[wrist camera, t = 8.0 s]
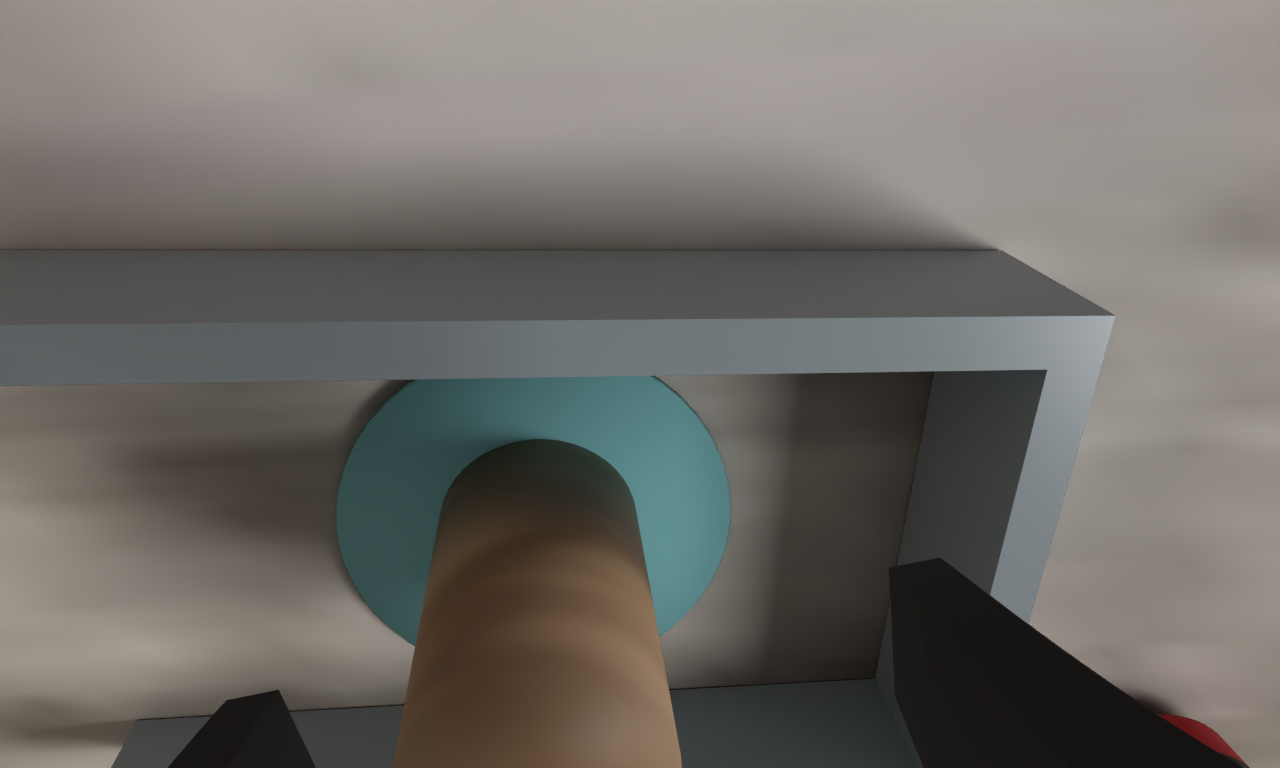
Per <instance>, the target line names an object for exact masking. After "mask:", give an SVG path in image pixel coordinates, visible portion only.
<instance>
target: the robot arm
mask: <svg viewBox="0 0 1280 768" xmlns="http://www.w3.org/2000/svg"><path fill="white" fill-rule="evenodd" d="M889 577H890V599H891V622H892V645H893V667H894V690H895V697H896V700H897V702H898V705H899V708H900V710H901V713H902V715H903V718H904V720H905V723H906V726H907V728H908V731H909V733H910V736H911V738H912V741H913V743H914V746H915V748H916V751H917V753H918V756H919V758H920V760H921V763H922V765H923V768H1244V767H1242V766H1240V765H1239V764H1237V763H1235V762H1233V761H1232V760H1230V759H1228V758H1227V757H1225V756H1223V755H1222V754H1220V753H1218V752H1217V751H1215V750H1213V749H1212V748H1210V747H1208V746H1207V745H1205V744H1203V743H1202V742H1200V741H1199V740H1197V739H1195V738H1194V737H1192V736H1191V735H1189V734H1188V733H1186V732H1184V731H1183V730H1181V729H1180V728H1178V727H1177V726H1175V725H1174V724H1172V723H1170V722H1169V721H1167V720H1166V719H1164V718H1163V717H1161V716H1159V715H1158V714H1156V713H1155V712H1153V711H1152V710H1150V709H1148V708H1147V707H1146V706H1144V705H1143V704H1141V703H1140V702H1138V701H1137V700H1135V699H1134V698H1132V697H1131V696H1129V695H1128V694H1126V693H1125V692H1123V691H1122V690H1120V689H1119V688H1117V687H1116V686H1114V685H1113V684H1111V683H1110V682H1109V681H1107V680H1106V679H1104V678H1103V677H1101V676H1100V675H1099V674H1097V673H1096V672H1094V671H1093V670H1091V669H1090V668H1089V667H1087V666H1086V665H1084V664H1083V663H1082V662H1080V661H1079V660H1077V659H1076V658H1074V657H1073V656H1072V655H1070V654H1069V653H1067V652H1066V651H1064V650H1063V649H1062V648H1060V647H1059V646H1057V645H1056V644H1055V643H1053V642H1052V641H1051V640H1049V639H1048V638H1047V637H1045V636H1044V635H1042V634H1041V633H1040V632H1038V631H1037V630H1036V629H1034V628H1033V627H1032V626H1030V625H1029V624H1028V623H1026V622H1025V621H1024V620H1022V619H1021V618H1020V617H1018V616H1017V615H1016V614H1014V613H1013V612H1012V611H1010V610H1009V609H1008V608H1006V607H1005V606H1004V605H1002V604H1001V603H1000V602H998V601H997V600H996V599H995V598H993V597H992V596H991V595H989V594H988V593H987V592H985V591H984V590H983V589H981V588H980V587H979V586H978V585H976V584H975V583H974V582H972V581H971V580H970V579H968V578H967V577H966V576H964V575H963V574H962V573H961V572H959V571H958V570H957V569H955V568H954V567H953V566H951V565H950V564H949V563H947V562H946V561H944V560H943V559H941V558H935V559H930V560H925V561H920V562H915V563H910V564H905V565H900V566H895V567H890V568H889ZM168 768H316V767H315V765H314V763H313V761H312V758H311V756H310V754H309V752H308V750H307V748H306V746H305V744H304V742H303V740H302V738H301V735H300V733H299V731H298V729H297V727H296V725H295V723H294V721H293V719H292V717H291V715H290V712H289V710H288V708H287V706H286V704H285V702H284V700H283V698H282V696H281V694H280V692H279V690H276V691H271V692H266V693H261V694H256V695H251V696H246V697H241V698H236V699H231V700H226V702H225V703H224V704H223V705H222V706H221V707H220V708H219V709H218V710H217V711H216V712H215V713H214V715H213V716H212V717H211V718H210V719H209V720H208V721H207V722H206V723H205V725H204V726H203V727H202V728H201V729H200V730H199V731H198V733H197V734H196V735H195V736H194V737H193V738H192V740H191V741H190V742H189V743H188V744H187V745H186V746H185V748H184V749H183V750H182V751H181V752H180V754H179V755H178V756H177V757H176V758H175V759H174V761H173V762H172V763H171V764H170V765H169V766H168Z"/></svg>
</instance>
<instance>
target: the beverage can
mask: <svg viewBox="0 0 1280 768" xmlns="http://www.w3.org/2000/svg"><path fill="white" fill-rule="evenodd" d="M1159 716H1161V717H1163V718H1164V719H1166V720H1167V721H1169V722H1170V723H1172V724H1174V725H1175V726H1177V727H1178V728H1180V729H1181V730H1183V731H1184V732H1186V733H1188V734H1189V735H1191V736H1192V737H1194V738H1195V739H1197V740H1199V741H1200V742H1202V743H1203V744H1205V745H1207V746H1208V747H1210V748H1212V749H1213V750H1215V751H1217V752H1218V753H1220V754H1222V755H1223V756H1225V757H1227V758H1228V759H1230V760H1232V761H1233V762H1235V763H1237V764H1239V765H1240V766H1242V767H1244V768H1249V767H1248V766H1247V765H1246V763H1245V762H1244V761H1243V760H1242V759H1241V758H1240V757H1239V756H1238V755H1237V754H1236V753H1235V752H1234V751H1233V749H1232V748H1231V747H1230V746H1229V745H1228V744H1227V743H1226V742H1225V741H1224V740H1223V739H1222V738H1221V737H1220V736H1219V734H1217V733H1216V732H1215V731H1214V730H1212V729H1211V728H1209V727H1208V726H1206V725H1205V724H1202V723H1200V722H1198V721H1196V720H1193V719H1189V718H1185V717H1181V716H1174V715H1159Z"/></svg>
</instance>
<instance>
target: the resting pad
mask: <svg viewBox="0 0 1280 768" xmlns="http://www.w3.org/2000/svg"><path fill="white" fill-rule="evenodd" d="M533 439H548V440H557V441H563V442H567V443H571V444H575V445H577V446H580V447H583V448H586V449H588V450H590V451H591V452H593V453H595V454H597V455H599V456H600V457H602V458H603V459H604V460H606V461H607V462H608V463H609V464H611V465H612V466H613V467H614V468H615V469H616V470H617V471H618V473H619V474H620V475H621V476H622V477H623V479H624V480H625V482H626V484H627V485H628V487H629V489H630V491H631V494H632V496H633V499H634V503H635V507H636V512H637V518H638V523H639V529H640V534H641V540H642V545H643V551H644V556H645V562H646V567H647V572H648V578H649V583H650V589H651V594H652V600H653V605H654V611H655V616H656V622H657V627H658V633H659V636H661V635H662V634H664V633H665V632H666V631H668V630H669V629H670V628H671V627H672V626H674V625H675V624H676V623H677V622H678V621H679V620H680V619H681V618H682V617H683V616H685V615H686V613H687V612H688V611H689V610H690V609H691V608H692V606H693V605H694V604H695V603H696V602H697V601H698V600H699V598H700V597H701V595H702V594H703V592H704V591H705V589H706V588H707V586H708V585H709V583H710V582H711V580H712V578H713V576H714V574H715V572H716V570H717V568H718V566H719V564H720V561H721V558H722V555H723V552H724V549H725V546H726V543H727V538H728V532H729V526H730V501H731V500H730V493H729V486H728V479H727V476H726V473H725V469H724V466H723V463H722V459H721V457H720V454H719V451H718V449H717V447H716V445H715V443H714V441H713V439H712V437H711V435H710V433H709V431H708V430H707V428H706V427H705V425H704V424H703V422H702V421H701V419H700V418H699V416H698V415H697V413H696V412H695V411H694V410H693V409H692V408H691V407H690V406H689V405H688V404H687V403H686V401H685V400H684V399H683V398H682V397H681V396H680V395H679V394H678V393H676V392H675V391H674V390H673V389H671V388H670V387H669V386H668V385H667V384H665V383H664V382H663V381H662V380H660V379H659V378H657V377H655V376H603V377H539V378H475V379H413V380H412V381H410V382H408V383H407V384H405V385H404V386H403V387H402V388H401V389H400V390H398V391H397V392H396V393H395V394H394V395H393V396H391V397H390V398H389V399H388V400H387V401H386V402H385V403H384V404H383V405H382V406H381V407H380V409H379V410H378V411H377V412H376V413H375V414H374V415H373V417H372V418H371V419H370V420H369V422H368V423H367V425H366V426H365V428H364V429H363V431H362V432H361V434H360V435H359V437H358V439H357V440H356V442H355V445H354V447H353V449H352V451H351V453H350V456H349V458H348V460H347V462H346V465H345V467H344V471H343V474H342V478H341V482H340V485H339V489H338V497H337V506H336V524H337V537H338V541H339V545H340V550H341V554H342V558H343V560H344V563H345V565H346V568H347V570H348V573H349V576H350V578H351V579H352V581H353V583H354V585H355V586H356V588H357V590H358V591H359V593H360V595H361V596H362V598H363V599H364V600H365V602H366V603H367V604H368V605H369V607H370V608H371V609H372V610H373V612H374V613H375V614H376V615H377V616H378V617H379V618H380V619H381V620H382V621H383V622H384V623H385V624H386V625H387V626H388V627H389V628H390V629H392V630H393V631H394V632H396V633H397V634H398V635H400V636H401V637H402V638H404V639H405V640H406V641H408V642H409V643H411V644H413V645H414V646H416V640H417V635H418V630H419V624H420V619H421V613H422V608H423V603H424V597H425V592H426V587H427V581H428V576H429V571H430V565H431V560H432V554H433V549H434V544H435V538H436V533H437V528H438V522H439V517H440V512H441V507H442V504H443V500H444V498H445V495H446V493H447V491H448V489H449V487H450V486H451V484H452V482H453V481H454V479H455V478H456V477H457V476H458V475H459V473H460V472H461V471H462V470H463V469H464V468H465V467H466V466H468V465H469V464H470V463H471V462H472V461H474V460H475V459H477V458H478V457H480V456H481V455H483V454H485V453H487V452H489V451H491V450H493V449H495V448H497V447H500V446H503V445H506V444H509V443H513V442H518V441H524V440H533Z"/></svg>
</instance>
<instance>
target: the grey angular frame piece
mask: <svg viewBox="0 0 1280 768" xmlns="http://www.w3.org/2000/svg"><path fill="white" fill-rule="evenodd" d="M1114 320H1115V315H1114V314H1112V313H1110V312H1108V311H1107V310H1105V309H1103V308H1101V307H1100V306H1098V305H1096V304H1094V303H1093V302H1091V301H1089V300H1087V299H1086V298H1084V297H1082V296H1080V295H1079V294H1077V293H1075V292H1073V291H1072V290H1070V289H1068V288H1066V287H1065V286H1063V285H1061V284H1059V283H1058V282H1056V281H1054V280H1052V279H1051V278H1049V277H1047V276H1045V275H1044V274H1042V273H1040V272H1039V271H1037V270H1035V269H1033V268H1032V267H1030V266H1028V265H1026V264H1025V263H1023V262H1021V261H1019V260H1018V259H1016V258H1014V257H1012V256H1011V255H1009V254H1007V253H1005V252H1004V251H835V250H0V386H28V385H91V384H155V383H219V382H283V381H347V380H411V379H475V378H539V377H603V376H667V375H731V374H794V373H858V372H922V371H934V375H933V380H932V386H931V391H930V396H929V401H928V406H927V411H926V417H925V422H924V427H923V432H922V437H921V442H920V448H919V453H918V458H917V463H916V468H915V473H914V479H913V484H912V489H911V494H910V499H909V504H908V510H907V515H906V520H905V525H904V530H903V535H902V541H901V546H900V551H899V556H898V561H897V566H900V565H905V564H910V563H915V562H920V561H925V560H930V559H935V558H941V559H943V560H944V561H946V562H947V563H949V564H950V565H951V566H953V567H954V568H955V569H957V570H958V571H959V572H961V573H962V574H963V575H964V576H966V577H967V578H968V579H970V580H971V581H972V582H974V583H975V584H976V585H978V586H979V587H980V588H981V589H983V590H984V591H985V592H987V593H988V594H989V595H991V596H992V597H993V598H995V599H996V600H997V601H998V602H1000V603H1001V604H1002V605H1004V606H1005V607H1006V608H1008V609H1009V610H1010V611H1012V612H1013V613H1014V614H1016V615H1017V616H1018V617H1020V618H1021V619H1022V620H1024V621H1025V622H1026V623H1029V620H1030V616H1031V613H1032V609H1033V606H1034V602H1035V599H1036V595H1037V592H1038V588H1039V585H1040V581H1041V577H1042V574H1043V570H1044V567H1045V563H1046V560H1047V556H1048V553H1049V549H1050V546H1051V542H1052V539H1053V535H1054V532H1055V528H1056V524H1057V521H1058V517H1059V514H1060V510H1061V507H1062V503H1063V500H1064V496H1065V493H1066V489H1067V486H1068V482H1069V479H1070V475H1071V472H1072V468H1073V464H1074V461H1075V457H1076V454H1077V450H1078V447H1079V443H1080V440H1081V436H1082V433H1083V429H1084V426H1085V422H1086V419H1087V415H1088V411H1089V408H1090V404H1091V401H1092V397H1093V394H1094V390H1095V387H1096V383H1097V380H1098V376H1099V373H1100V369H1101V366H1102V362H1103V359H1104V355H1105V351H1106V348H1107V344H1108V341H1109V337H1110V334H1111V330H1112V327H1113V323H1114ZM669 693H670V698H671V704H672V709H673V715H674V720H675V726H676V731H677V737H678V742H679V748H680V753H681V763H682V768H923V765H922V763H921V760H920V758H919V756H918V753H917V751H916V748H915V746H914V743H913V741H912V738H911V736H910V733H909V731H908V728H907V726H906V723H905V720H904V718H903V715H902V713H901V710H900V708H899V705H898V702H897V700H896V697H895V690H894V667H893V645H892V622H891V599H890V603H889V608H888V613H887V618H886V623H885V628H884V634H883V639H882V644H881V649H880V654H879V659H878V665H877V670H876V675H875V679H859V680H842V681H824V682H807V683H789V684H771V685H754V686H736V687H718V688H701V689H683V690H669ZM403 710H404V705H401V706H383V707H366V708H348V709H331V710H313V711H295V712H290V715H291V717H292V719H293V721H294V723H295V725H296V727H297V729H298V731H299V733H300V735H301V738H302V740H303V742H304V744H305V746H306V748H307V750H308V752H309V754H310V756H311V758H312V761H313V763H314V765H315V767H316V768H393V764H394V758H395V753H396V748H397V742H398V737H399V732H400V726H401V721H402V715H403ZM211 717H212V716H207V717H190V718H172V719H154V720H137V721H136V723H135V725H134V727H133V729H132V731H131V732H130V734H129V736H128V738H127V740H126V741H125V743H124V745H123V747H122V749H121V751H120V752H119V754H118V756H117V758H116V760H115V762H114V763H113V765H112V767H111V768H168V766H169V765H170V764H171V763H172V762H173V761H174V759H175V758H176V757H177V756H178V755H179V754H180V752H181V751H182V750H183V749H184V748H185V746H186V745H187V744H188V743H189V742H190V741H191V740H192V738H193V737H194V736H195V735H196V734H197V733H198V731H199V730H200V729H201V728H202V727H203V726H204V725H205V723H206V722H207V721H208V720H209V719H210V718H211Z"/></svg>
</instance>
